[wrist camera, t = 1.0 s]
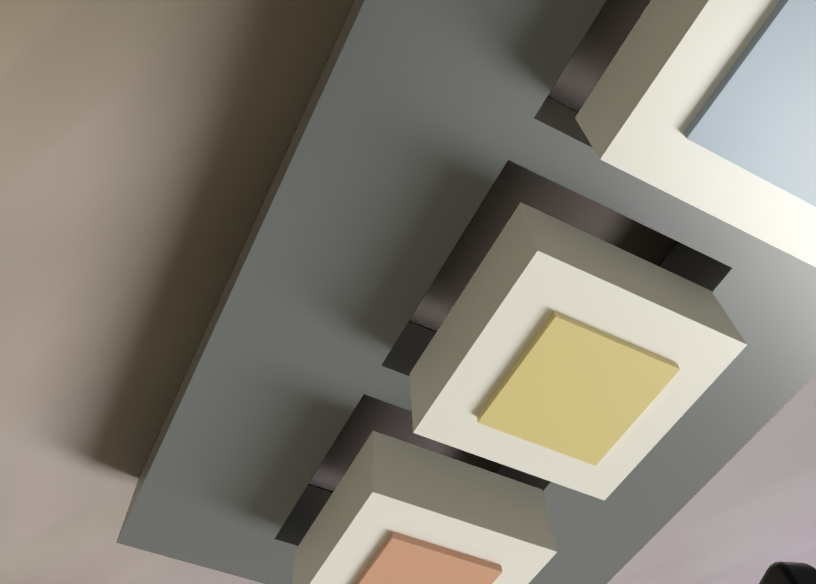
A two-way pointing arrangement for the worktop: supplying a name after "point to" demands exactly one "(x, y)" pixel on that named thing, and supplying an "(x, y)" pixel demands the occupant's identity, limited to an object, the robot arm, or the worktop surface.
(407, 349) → the keypad board
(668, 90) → the key
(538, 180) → the worktop surface
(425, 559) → the key
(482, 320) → the key
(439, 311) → the worktop surface
